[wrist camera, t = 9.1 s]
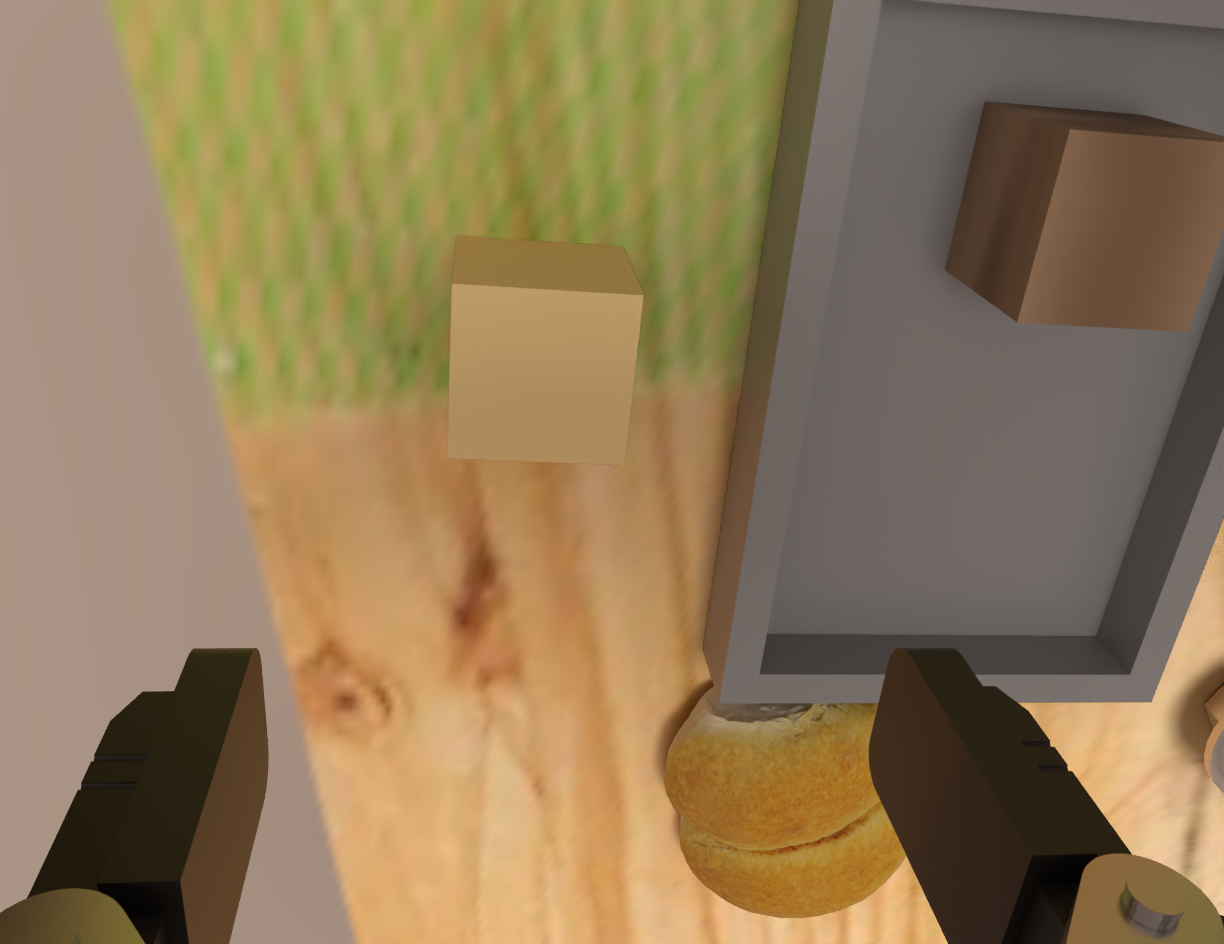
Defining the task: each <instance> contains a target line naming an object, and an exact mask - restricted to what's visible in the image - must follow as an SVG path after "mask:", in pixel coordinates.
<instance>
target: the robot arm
mask: <svg viewBox="0 0 1224 944" xmlns="http://www.w3.org/2000/svg"><path fill="white" fill-rule="evenodd" d="M94 757H95V758H94V762H91V763H90V765H89V768H88V770H87V772H86V774H85V776H84V778H83V780H82V783H81V790H78V791H77V793H76V795H75V797H74V799H73V802H72V804H71V806H70V808H69V810H68V812H67V814H66V816H65V819H64V821H63V823H62V825H61V827H60V829H59V832H58V834H57V836H56V838H55V840H54V842H53V844H52V846H51V849H50V851H49V853H48V855H47V857H46V859H45V861H44V863H43V866H42V868H41V870H40V872H39V874H38V876H37V878H36V881H35V883H34V885H33V887H32V889H31V891H30V894H29V895H28V897H27V899H25V900H22V901H20V902H18V903H16V904H14V905H12V906H11V907H9V908H7V909H5V910H4V911H3V912H1V913H0V944H229V941H230V938H231V934H232V929H233V925H234V921H235V917H236V913H237V909H238V905H239V901H240V897H241V893H242V889H243V884H244V880H245V876H246V872H247V868H248V864H249V860H250V856H251V852H252V848H253V844H254V840H255V836H256V832H257V827H258V824H259V819H260V815H261V811H262V807H263V803H264V799H265V793H266V786H267V777H268V738H267V727H266V714H265V702H264V690H263V677H262V666H261V658H260V653H259V651H258V649H257V648H240V649H239V648H237V649H236V648H233V649H232V648H228V649H226V648H220V649H193V650H192V651H191V652H190V654H189V656H188V658H187V660H186V663H185V666H184V668H183V671H182V673H181V675H180V678H179V680H178V683H177V685H176V688H175V690H174V691H165V692H142V693H141V694H140V695H138V696H137V697H136V698H135V699H134V700H133V701H132V702H131V703H130V704H129V705H127V706H126V707H125V708H124V709H123V710H122V711H121V712H120V713H119V714H117V715H116V716H115V717H114V718H113V719H112V720H111V721H110V723H109V725H108V727H107V729H106V731H105V733H104V735H103V738H102V740H101V742H100V744H99V746H98V748H97V750H96V753H95V755H94ZM869 767H870V773H871V778H872V782H873V785H874V788H875V790H876V792H877V794H878V796H879V799H880V801H881V803H882V805H883V807H884V809H885V811H886V813H887V815H888V818H889V820H890V822H891V824H892V826H893V828H894V830H895V832H896V834H897V837H898V839H899V841H900V843H901V845H902V847H903V849H904V851H905V853H906V856H907V858H908V860H909V862H910V864H911V866H912V868H913V870H914V872H915V875H916V877H917V879H918V881H919V883H920V885H921V887H922V889H923V891H924V894H925V896H926V898H927V900H928V902H929V904H930V906H931V908H932V910H933V913H934V915H935V917H936V919H937V921H938V923H939V925H940V927H941V929H942V932H943V934H944V936H945V938H946V940H947V942H948V944H1224V916H1222V915H1219V913H1218V911H1217V909H1216V908H1215V906H1214V905H1213V904H1212V902H1211V901H1210V900H1209V898H1208V897H1207V896H1206V895H1205V894H1204V893H1203V892H1202V891H1201V890H1200V889H1199V888H1198V887H1197V886H1196V885H1194V884H1193V883H1192V882H1191V881H1189V880H1188V879H1187V878H1185V877H1184V876H1182V875H1181V874H1179V873H1178V872H1176V871H1174V870H1173V869H1171V868H1169V867H1167V866H1165V865H1163V864H1161V863H1158V862H1156V861H1153V860H1150V859H1147V858H1144V857H1140V856H1136V855H1132V854H1131V852H1130V851H1129V849H1128V848H1127V847H1126V845H1125V844H1124V843H1123V841H1122V840H1121V838H1120V837H1119V836H1118V834H1117V833H1116V831H1115V830H1114V829H1113V827H1112V826H1111V825H1110V823H1109V822H1108V820H1107V819H1106V818H1105V816H1104V815H1103V813H1102V812H1101V811H1100V809H1099V808H1098V807H1097V805H1096V804H1095V802H1094V801H1093V800H1092V798H1091V797H1090V795H1089V794H1088V793H1087V791H1086V790H1085V789H1084V787H1083V786H1082V784H1081V783H1080V782H1079V780H1078V779H1077V777H1076V776H1075V775H1074V773H1073V772H1072V771H1068V769H1067V764H1066V762H1065V761H1064V759H1063V758H1062V757H1061V755H1060V754H1059V753H1058V751H1057V750H1056V748H1055V747H1051V746H1050V740H1049V739H1048V737H1047V736H1046V735H1045V733H1044V732H1043V730H1042V729H1041V728H1040V726H1039V725H1038V723H1037V722H1036V721H1035V719H1034V718H1033V717H1032V715H1031V714H1030V712H1029V711H1028V710H1026V709H1025V708H1024V707H1022V706H1021V705H1020V704H1018V703H1017V702H1016V701H1014V700H1013V699H1012V698H1011V697H1009V696H1008V695H1007V694H1005V693H1004V692H1003V691H1001V690H1000V689H999V688H997V687H996V686H983V685H982V684H981V682H980V681H979V680H978V678H977V677H976V675H975V674H974V672H973V671H972V669H971V668H970V666H969V665H968V664H967V662H966V661H965V659H964V658H963V656H962V655H961V654H960V652H959V651H957V650H956V649H954V648H897V649H896V650H894V651H893V653H892V654H891V656H890V659H889V662H888V666H887V670H886V674H885V678H884V682H883V686H882V691H881V695H880V699H879V703H878V707H877V711H876V715H875V720H874V724H873V728H872V732H871V736H870V741H869Z"/></svg>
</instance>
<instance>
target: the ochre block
mask: <svg viewBox="0 0 1224 944" xmlns="http://www.w3.org/2000/svg"><path fill="white" fill-rule="evenodd" d="M643 298H644V295H643V292H642V290H641V288H640V286H639V283H638V281H637V279H636V276H635V274H634V272H633V269H632V267H631V265H630V262H629V260H628V258H627V255H626V253H625V251H624V248H623V246H609V245H594V244H579V243H564V242H549V241H535V240H520V239H505V238H490V237H475V236H460V235H457V239H456V248H455V258H454V267H453V277H452V294H451V330H450V366H449V402H448V437H447V458H454V459H479V460H505V461H530V462H556V463H582V464H607V465H625V458H626V449H627V440H628V431H629V423H630V414H631V405H632V396H633V387H634V378H635V369H636V360H637V351H638V343H639V334H640V325H641V316H642V307H643Z"/></svg>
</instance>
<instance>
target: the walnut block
mask: <svg viewBox="0 0 1224 944" xmlns="http://www.w3.org/2000/svg"><path fill="white" fill-rule="evenodd" d="M1223 231H1224V136H1220V135H1217V134H1213V133H1209V132H1206V131H1202V130H1198V129H1195V128H1191V127H1187V126H1184V125H1180V124H1176V123H1172V122H1169V121H1165V120H1161V119H1158V118H1154V117H1150V116H1147V115H1140V114H1129V113H1117V112H1105V111H1094V110H1082V109H1070V108H1058V107H1047V106H1035V105H1023V104H1011V103H1000V102H988V101H985V102H984V107H983V111H982V115H981V119H980V124H979V128H978V132H977V136H976V141H975V145H974V149H973V153H972V157H971V162H970V166H969V170H968V174H967V179H966V183H965V187H964V191H963V195H962V200H961V204H960V208H959V212H958V217H957V221H956V225H955V229H954V233H953V238H952V242H951V246H950V250H949V255H948V259H947V263H946V267H945V271H947V272H948V273H950V274H951V275H952V276H954V277H955V278H956V279H958V280H959V281H961V282H962V283H963V284H965V285H966V286H967V287H969V288H970V289H972V290H973V291H974V292H976V293H977V294H978V295H980V296H981V297H983V298H984V299H985V300H987V301H988V302H989V303H991V304H992V305H994V306H995V307H996V308H998V309H999V310H1000V311H1002V312H1003V313H1005V314H1006V315H1007V316H1009V317H1010V318H1011V319H1013V320H1014V321H1016V322H1017V323H1033V324H1051V325H1069V326H1087V327H1105V328H1123V329H1142V330H1160V331H1178V332H1188V330H1189V327H1190V324H1191V322H1192V319H1193V316H1194V313H1195V310H1196V307H1197V305H1198V302H1199V299H1200V296H1201V293H1202V290H1203V288H1204V285H1205V282H1206V279H1207V276H1208V273H1209V270H1210V268H1211V265H1212V262H1213V259H1214V256H1215V253H1216V251H1217V248H1218V245H1219V242H1220V239H1221V236H1222V233H1223Z"/></svg>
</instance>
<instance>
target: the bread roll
mask: <svg viewBox="0 0 1224 944" xmlns="http://www.w3.org/2000/svg"><path fill="white" fill-rule="evenodd" d="M877 707H878V703H719V701H718V698H717V695H716V691H715V688H714V687H712V688H711V689H709V690H708V691H707V692H706V693H705V694H704V695H703V696H702V698H701V699H700V700H699V701H698V703H697V705H696V706H695V708H694V709H693V711H692V712H691V714H690V716H689V717H688V718H687V720H686V721H685V722H684V724H683V725H682V727H681V728H680V730H679V731H678V733H677V734H676V736H675V738H674V740H673V742H672V744H671V746H670V748H669V750H668V755H667V761H666V766H665V773H664V785H665V789H666V793H667V796H668V798H669V800H670V802H671V804H672V806H673V808H674V809H675V810H676V811H677V812H678V813H679V814H680V844H681V849H682V852H683V854H684V857H685V859H686V862H687V864H688V865H689V867H690V869H691V871H692V872H693V873H694V874H695V876H696V877H697V878H698V879H699V880H700V881H701V882H702V883H703V884H704V885H705V886H706V887H707V888H709V889H710V890H712V891H713V892H714V893H716V894H717V895H718V896H720V897H721V898H723V899H724V900H726V901H727V902H729V903H731V904H733V905H735V906H737V907H739V908H741V909H744V910H746V911H749V912H752V913H757V914H763V915H767V916H773V917H779V918H807V917H814V916H821V915H824V914H828V913H832V912H836V911H839V910H842V909H844V908H847V907H849V906H851V905H854V904H856V903H858V902H860V901H862V900H864V899H865V898H867V897H868V896H870V895H871V894H872V893H874V892H875V891H876V890H877V889H879V888H880V887H881V886H882V885H883V884H884V883H885V882H886V881H887V880H888V879H889V878H890V877H891V875H892V874H893V873H894V872H895V871H896V869H897V868H898V867H899V866H900V865H901V863H902V862H903V860H904V859H905V857H906V853H905V851H904V849H903V847H902V845H901V843H900V841H899V839H898V837H897V834H896V832H895V830H894V828H893V826H892V824H891V822H890V820H889V818H888V815H887V813H886V811H885V809H884V807H883V805H882V803H881V801H880V799H879V796H878V794H877V792H876V790H875V788H874V785H873V782H872V778H871V773H870V767H869V741H870V736H871V732H872V728H873V724H874V720H875V715H876V711H877Z"/></svg>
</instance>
